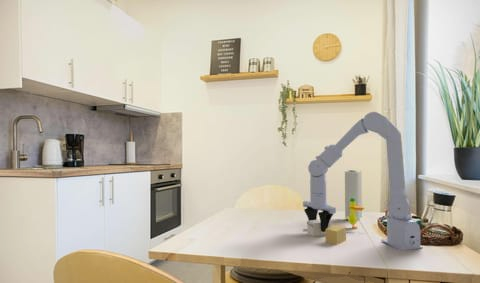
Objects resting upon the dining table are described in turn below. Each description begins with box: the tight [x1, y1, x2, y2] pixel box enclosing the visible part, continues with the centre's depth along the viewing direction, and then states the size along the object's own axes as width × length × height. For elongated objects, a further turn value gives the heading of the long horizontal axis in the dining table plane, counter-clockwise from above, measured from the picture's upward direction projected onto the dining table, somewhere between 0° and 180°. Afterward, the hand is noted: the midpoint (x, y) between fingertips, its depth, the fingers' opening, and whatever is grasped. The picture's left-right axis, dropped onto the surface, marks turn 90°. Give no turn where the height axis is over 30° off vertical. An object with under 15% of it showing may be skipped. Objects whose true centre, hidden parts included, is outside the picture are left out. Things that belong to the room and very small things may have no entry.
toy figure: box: [346, 198, 365, 230], centre depth 121 cm, size 7×4×12 cm, turn 61°
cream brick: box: [306, 218, 331, 237], centre depth 112 cm, size 4×7×5 cm, turn 107°
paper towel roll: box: [344, 170, 363, 221], centre depth 136 cm, size 7×6×21 cm
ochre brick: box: [325, 224, 347, 246], centre depth 103 cm, size 4×7×5 cm, turn 138°
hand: (318, 229), depth 112 cm, fingers open, 5 cm apart
